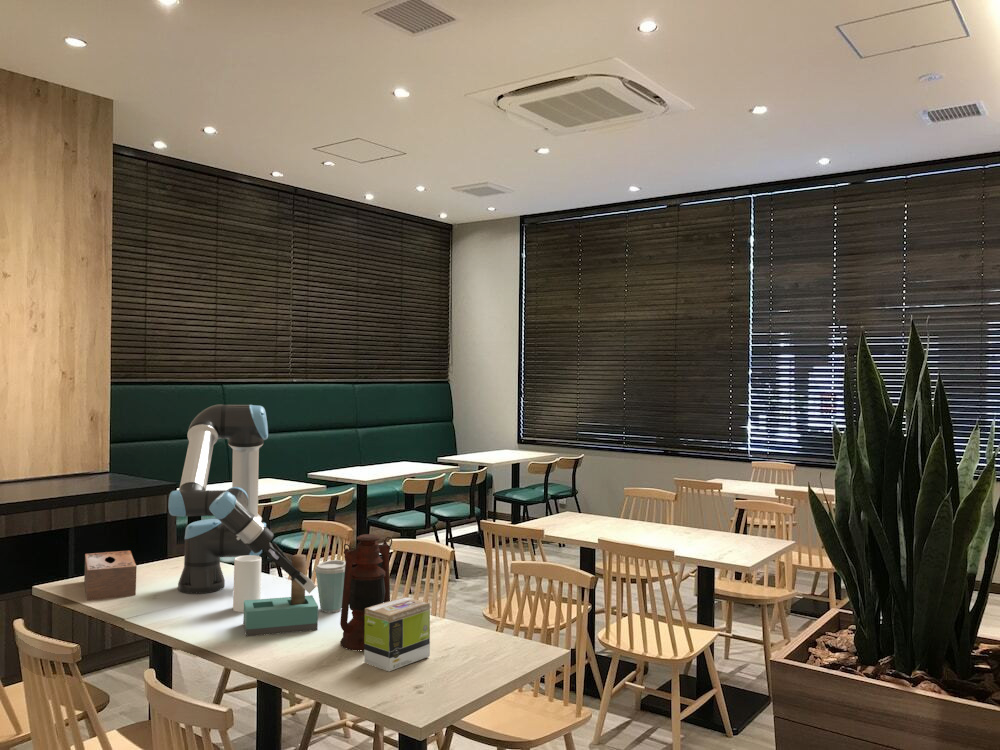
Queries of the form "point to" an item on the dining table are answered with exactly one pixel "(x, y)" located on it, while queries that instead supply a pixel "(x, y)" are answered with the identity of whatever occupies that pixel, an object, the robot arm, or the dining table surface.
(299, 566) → the walnut pin
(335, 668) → the dining table surface
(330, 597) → the disposable coffee cup
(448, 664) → the dining table surface
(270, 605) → the socket block
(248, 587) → the cup
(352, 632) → the lantern
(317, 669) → the dining table surface
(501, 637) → the dining table surface
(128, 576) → the tissue box cover
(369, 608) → the tea box
